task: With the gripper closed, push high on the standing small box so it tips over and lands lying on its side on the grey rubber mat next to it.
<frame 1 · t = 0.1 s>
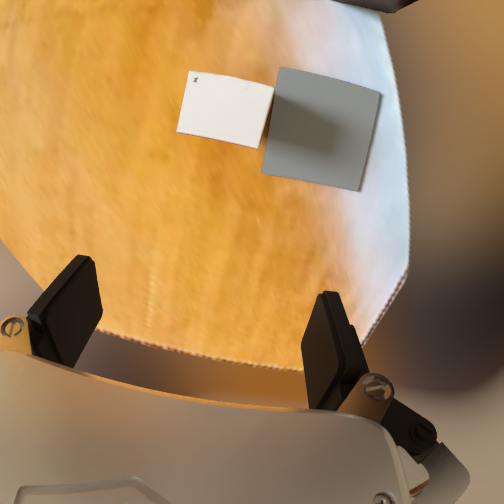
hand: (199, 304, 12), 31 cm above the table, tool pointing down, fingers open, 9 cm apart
mat: (321, 129, 37), on the table
small box: (234, 107, 36), on the table
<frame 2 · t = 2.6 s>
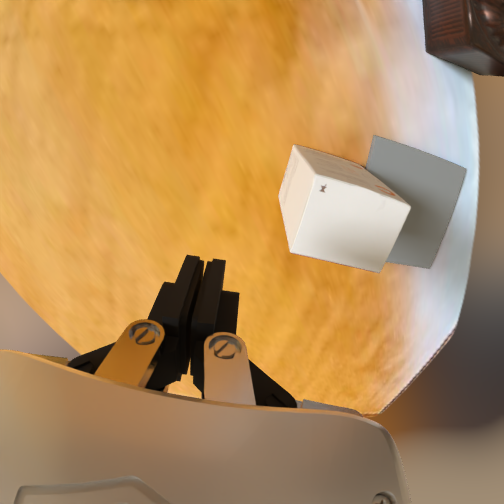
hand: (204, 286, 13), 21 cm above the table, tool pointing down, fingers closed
mat: (406, 207, 33), on the table
manual coffee grinder: (456, 14, 19), on the table
small box: (319, 179, 32), on the table
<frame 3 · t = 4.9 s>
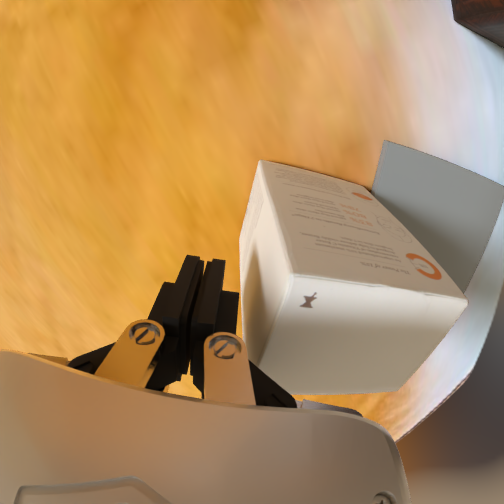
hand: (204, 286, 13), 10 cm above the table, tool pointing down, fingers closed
mat: (427, 244, 22), on the table
small box: (301, 210, 21), on the table, touching gripper
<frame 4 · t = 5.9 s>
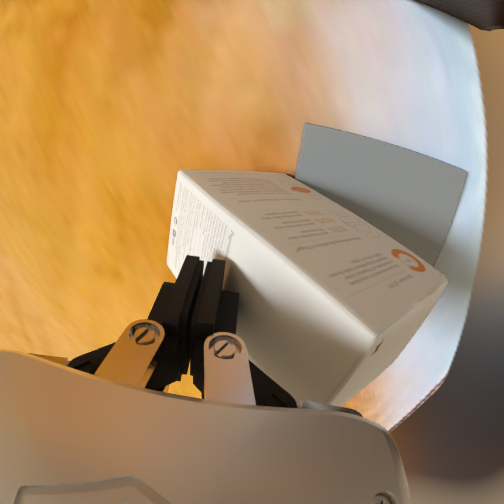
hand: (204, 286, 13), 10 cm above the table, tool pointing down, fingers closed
mat: (370, 236, 22), on the table
small box: (225, 213, 19), point 2 cm above the table, touching gripper
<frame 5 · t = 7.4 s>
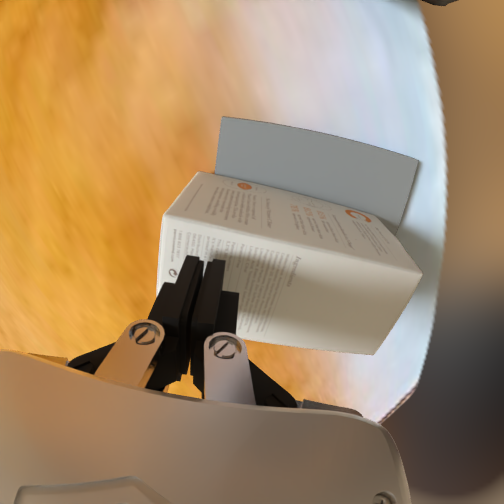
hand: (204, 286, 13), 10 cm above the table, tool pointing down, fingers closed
mat: (304, 233, 22), on the table
small box: (172, 236, 17), point 5 cm above the table, touching mat
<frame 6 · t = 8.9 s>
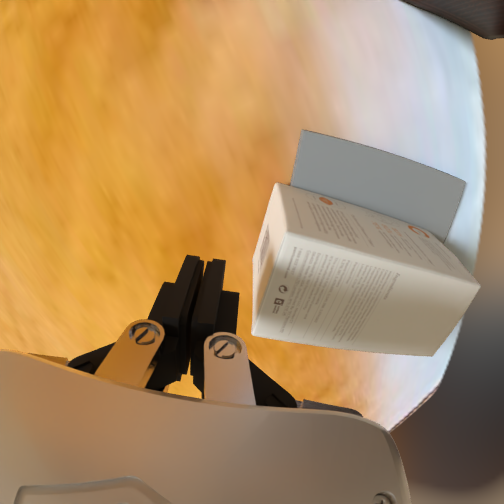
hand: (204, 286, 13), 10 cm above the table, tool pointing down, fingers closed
mat: (365, 245, 22), on the table
small box: (259, 249, 17), point 5 cm above the table, touching mat
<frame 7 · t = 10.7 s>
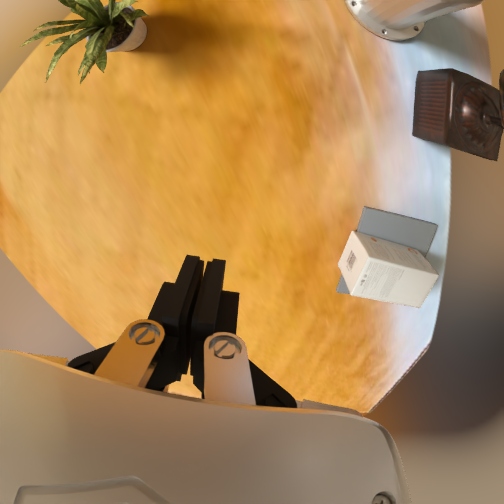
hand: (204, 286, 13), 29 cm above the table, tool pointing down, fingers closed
mat: (387, 257, 45), on the table
manual coffee grinder: (443, 95, 32), on the table
house plant: (122, 34, 29), on the table
small box: (349, 260, 40), point 5 cm above the table, touching mat
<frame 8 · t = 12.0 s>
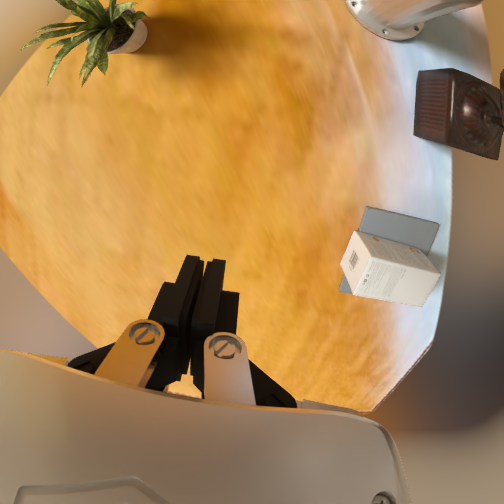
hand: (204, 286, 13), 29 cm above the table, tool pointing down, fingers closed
mat: (389, 256, 45), on the table
manual coffee grinder: (444, 94, 32), on the table
house plant: (123, 35, 29), on the table
small box: (351, 260, 40), point 5 cm above the table, touching mat
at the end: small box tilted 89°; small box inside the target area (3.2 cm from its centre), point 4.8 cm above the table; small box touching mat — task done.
